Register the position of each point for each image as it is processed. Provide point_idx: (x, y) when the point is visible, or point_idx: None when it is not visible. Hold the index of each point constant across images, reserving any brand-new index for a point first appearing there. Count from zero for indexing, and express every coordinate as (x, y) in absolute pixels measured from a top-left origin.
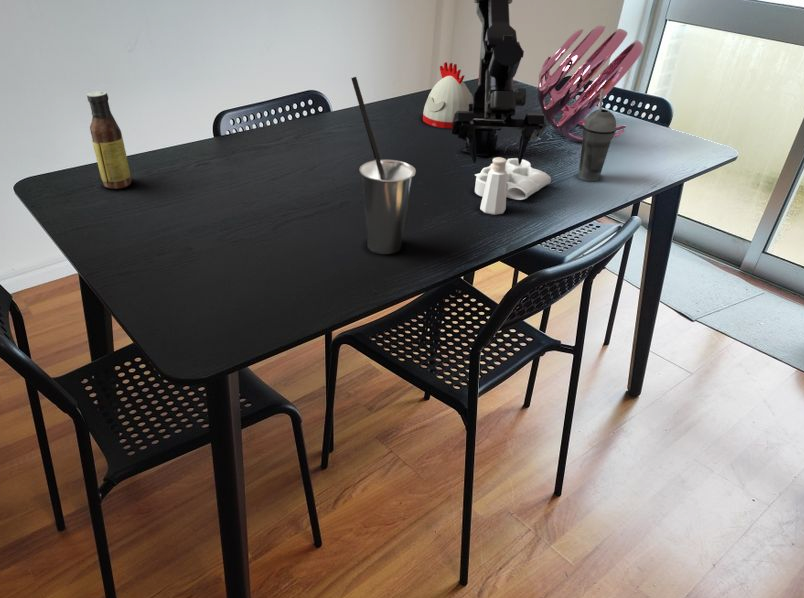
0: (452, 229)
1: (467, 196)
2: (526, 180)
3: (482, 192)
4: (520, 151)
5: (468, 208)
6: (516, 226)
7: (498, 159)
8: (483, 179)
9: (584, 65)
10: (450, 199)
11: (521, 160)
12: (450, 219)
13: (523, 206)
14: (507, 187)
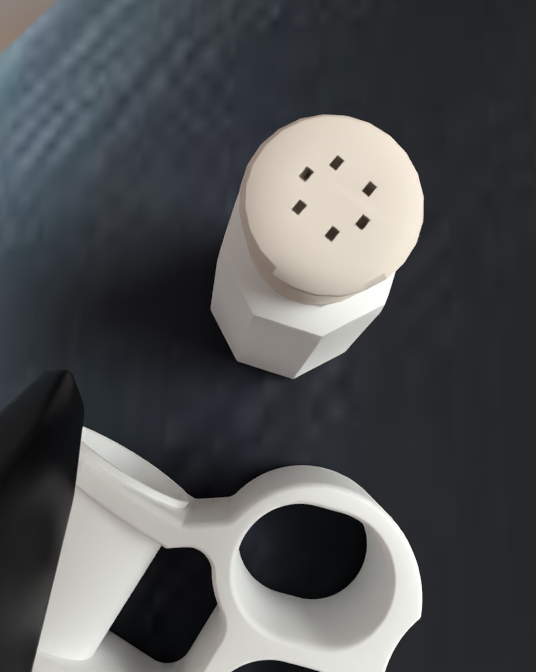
0: (502, 28)
1: (433, 474)
2: None
3: (352, 482)
4: (10, 467)
5: (424, 301)
6: (163, 108)
7: (352, 184)
8: (359, 620)
9: None
10: (532, 412)
11: (34, 383)
12: (518, 144)
13: (99, 379)
14: (189, 513)
